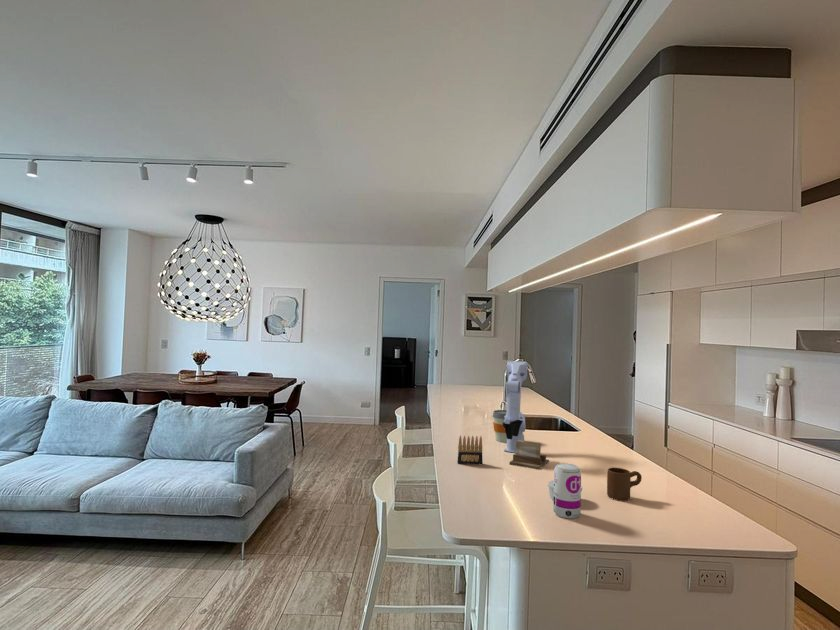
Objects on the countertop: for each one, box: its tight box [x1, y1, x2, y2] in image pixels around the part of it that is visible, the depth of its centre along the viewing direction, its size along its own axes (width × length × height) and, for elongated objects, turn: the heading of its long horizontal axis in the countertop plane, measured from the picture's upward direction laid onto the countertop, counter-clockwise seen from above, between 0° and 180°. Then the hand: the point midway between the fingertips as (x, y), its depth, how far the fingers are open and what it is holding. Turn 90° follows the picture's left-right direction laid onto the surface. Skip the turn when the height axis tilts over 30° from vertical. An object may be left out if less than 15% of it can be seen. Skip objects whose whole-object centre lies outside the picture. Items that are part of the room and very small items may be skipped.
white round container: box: [547, 479, 583, 502], centre depth 166 cm, size 11×11×5 cm
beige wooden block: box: [515, 440, 542, 458], centre depth 212 cm, size 3×10×8 cm, turn 66°
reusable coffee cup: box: [492, 409, 507, 444], centre depth 255 cm, size 13×12×15 cm
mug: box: [606, 467, 643, 501], centre depth 170 cm, size 12×8×9 cm, turn 94°
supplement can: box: [552, 462, 582, 520], centre depth 153 cm, size 8×8×15 cm
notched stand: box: [509, 453, 550, 470], centre depth 211 cm, size 14×13×4 cm
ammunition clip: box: [457, 435, 484, 465], centre depth 209 cm, size 11×2×12 cm, turn 90°
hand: (512, 437), depth 219 cm, fingers open, 7 cm apart
